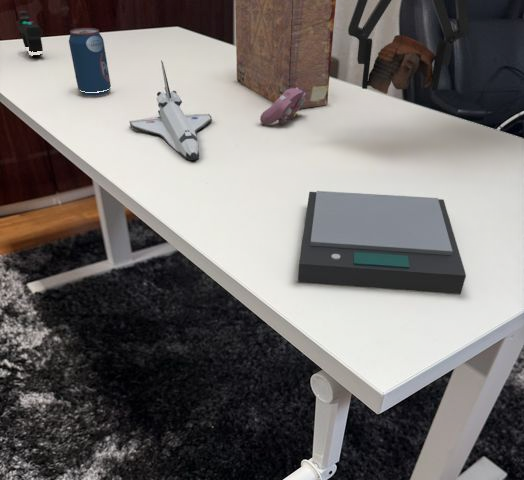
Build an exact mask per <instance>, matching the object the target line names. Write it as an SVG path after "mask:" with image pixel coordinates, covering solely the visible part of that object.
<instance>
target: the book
mask: <svg viewBox="0 0 524 480" xmlns="http://www.w3.org/2000/svg"><path fill="white" fill-rule="evenodd" d="M234 1H235V2H234V3H235V4H234V5H235V7H234V9H235V44H236V45H235V49H236V53H235V54H236V56H235V57H236V81H237V83H239V84H241V85H242V86H244V87H245V88H248V89H249V90H251V91H253V92H255V93H257V94H258V95H260V96H262V97H264V98H266V99H267V100H269V101H271V102H272V103H274V102H275V101H276V100H277V99H278V98H279V97H280V96H281V95H283V93H284V92H285V91H286V90H287V89H291V88H298V89H299V90H303V91H304V92H305V93H306V94H307V98H306V100H305V102H304V104H303V105H302V106H301V107H300V108H299V110H300V109H307V108H308V109H309V108H314V107H320V106H327V105H328V97H329V86H330V75H331V74H330V73H331V65H332V64H331V63H332V52H333V40H334V28H335V18H336V17H335V15H336V4H337V0H234Z"/></svg>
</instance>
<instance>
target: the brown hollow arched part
mask: <svg viewBox="0 0 524 480" xmlns="http://www.w3.org/2000/svg"><path fill="white" fill-rule="evenodd" d="M435 58H436V54H435V53H434V52H433V51H432V50H431V49H429V47H427V46H426V45H425V44H423V43H422V42H420V41H418V40H416V39H413V38H411V37H408V36H405V35H401V34H397V35H395V36H394V37H393V39H392V42H390V43H387V44H386V45H384V46H383V47H382V48H381V49H380V51H378V53H377V56H376V58H375V60H374V63H373V66H372V68H371V70H370V71H369V76H368V85H367V87H371V88H372V89H374V90H377V91H378V92H381V93H383V94H385V95H387V94H388V93H389V92H388V91H389V89H390V86H391V84H392V87H394V88H395V89H396V90H399V91H400V90H401V91H402V90H407V89H408V86H409V85H410V83H411V81H412V79H413V76H414V75H415V74H416V72H418V73H420V74H421V75H422V76H423V77H424V78H425V81H424V84H423V86H424V88H428V87H430V84H431V79H432V74H433V68H434V66H433V64H434V62H435Z"/></svg>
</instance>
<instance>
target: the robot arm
mask: <svg viewBox="0 0 524 480" xmlns="http://www.w3.org/2000/svg"><path fill="white" fill-rule="evenodd" d="M391 2H392V0H378V2H377V4H376V5H375V7H374V9H373V10H372V12H371V13H370V14H369V16H368V19H367V20H366V22H365V23H364V25H363V26H362V27H360V26H359V25H360V23H361V21H362V17H363V14H364V12H365V8H366V6H367V4H368V0H357V1H356V5H355V7H354V10H353V13H352V16H351V19H350V21H349V25H348V29H347V31H348V32H347V33H348V35H349V36H350V37H354V38H356V39H357V40H358V48H357V57H356V59H357V64H358V65H363V71H362V72H363V73H362V81H361V89H363V90H368V86H367V85H368V79H369V74H370V67H371V66H370V65H371V57H372V48H373V39H372V38H370V35H371V34H372V32H373V31H374V29H375V27H376V26H377V24H378V23H379V21H380V20H381V18H382V17H383V14H384V13H385V12H386V10H387V9H388V7H389V5H390V4H391ZM431 2H432V5H433V7H434V11H435V14H436V16H437V19H438V23H439V25H440V28H441V31H442V34H443V37H444V38H443V39H437V45H436V46H437V47H436V52H435V56H436V58H435V60H434V61H433V69H432V70H433V72H432V78H431V82H430V84H429V87H430V89H431V91H432V92H433V91H434V92H438V89H439V83H440V77H441V72H442V67H448V66H449V64H450V63H451V57H452V52H453V47H454V43H455V42H456V41H457V40H460V39H465V38H467V37H468V36H469V16H468V14H469V13H468V1H467V0H454V2H455V17H456V28H453V26H452V23H451V21H450V17H449V14H448V11H447V8H446V5H445V1H444V0H431Z"/></svg>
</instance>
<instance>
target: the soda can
mask: <svg viewBox="0 0 524 480" xmlns="http://www.w3.org/2000/svg"><path fill="white" fill-rule="evenodd" d="M69 33H70V34H69V39H68V45H69V50H70V55H71V60H72V64H73V65H72V66H73V70H74V75H75V80H76V86H77V89H78V91H79V90H81V91H85V92H97V91H103V90H107V89H109V88H110V87H111V88H112V84H111V78H110V73H109V65H108V60H107V54H106V48H105V42H104V38H103V36H102V34H101V33H100V30H99V29H98V28H93V27H81V28H80V27H79V28H73V29H71V30H70V31H69ZM111 88H110V89H109V90H107V91H104V92H99V93H85V92H81V91H79V92H80V94H81V95H82V96H83V97H87V98H99V97H100V98H101V97H104V96H107V95H109V93H110V91H111Z"/></svg>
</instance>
